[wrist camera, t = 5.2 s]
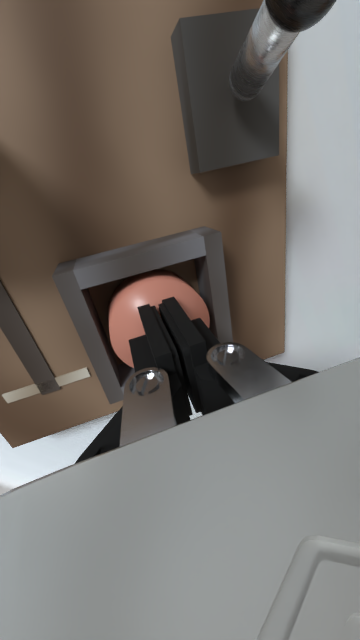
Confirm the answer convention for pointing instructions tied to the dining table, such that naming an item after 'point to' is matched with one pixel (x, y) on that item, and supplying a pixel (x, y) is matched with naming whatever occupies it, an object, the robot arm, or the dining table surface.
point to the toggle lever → (272, 41)
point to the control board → (129, 190)
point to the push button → (150, 291)
